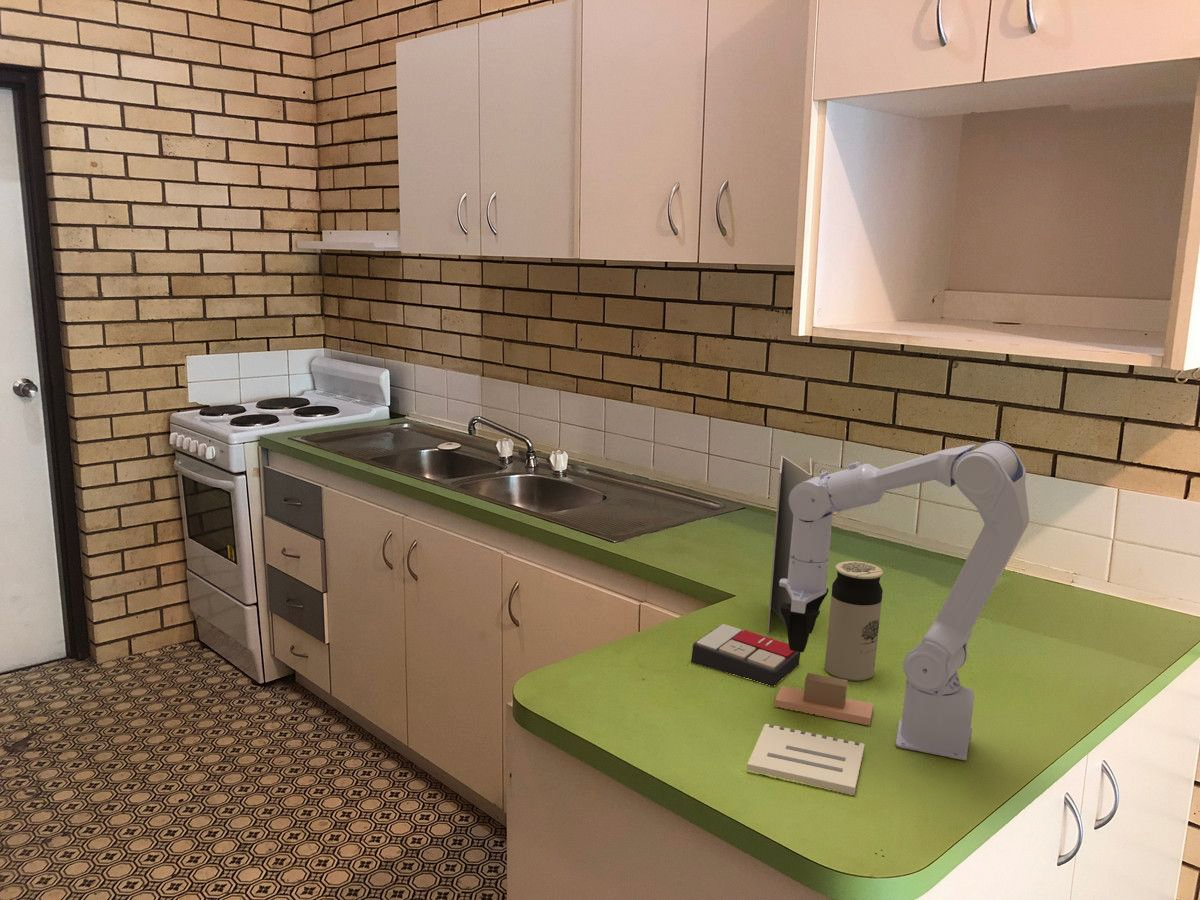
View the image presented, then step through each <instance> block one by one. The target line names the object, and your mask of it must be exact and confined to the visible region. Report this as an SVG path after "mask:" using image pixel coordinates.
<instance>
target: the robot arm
mask: <svg viewBox="0 0 1200 900" xmlns="http://www.w3.org/2000/svg"><path fill="white" fill-rule="evenodd" d="M976 446H977V444H967V445H961V446H957V447H951V448H946V449H942V450H938V451H935V452H933V453H929V454H925V455H922V456H920V457H919V456H918V457H916V458H913V459H909V460H906V461H903V462H900V463H896V464H893V465H890V466H888V467H887V466H886V467H883V468H881V469H880V468H878V467H876V466H874V465H872V464H870V463H863V464H861V461H856V462H852V463H850V464H848V467H847V468H845V469H843V470H838V471H836V472H832V473H829V471H824V472H820V473H819V475H818V476H815V477H812V479H809V480H807V481H804V482H802V483H800V484H798V485H797V486H795V487H794V488H793V489H792V491H791V492H790V495H789V506H790V509H791V511H792V512H793V514H794V517H793V526H792V537H791V548H790V560H789V570H788V579H784V578H782V579H781V580H780V581H779V586H781V587H785V588H786V589H787V591H788V593H789V595H790V597H791V599H792V603H791V604H790V603H784V602H783V603H782V604H781V608H780V610H781V614H782V616H783V618H784V620H785V623H786V625H785V627H786V634H787V640H788V642H787V643H788V644H789V648H790V650H792V651H798V652H801V653H804V652H805V649H806V647H807V644H808V641H809V638H810V637H809V636H810V635H811V634H812V632H813V631H814V627H815V625H816V621H817V618H818V617H819V615H820V613H821V610H820V608H821V606H822V603H824V602H823V601H824V600H825V598H826V597H827V596H828V593H829V588H828V586H827V579H828V578H827V577H828V567H829V557H830V548H831V547H830V546H831V537H832V523H833V516H834V515H833V514H834V512H835V513H841V512H845V511H848V510H853V509H855V508H860V507H865V506H868V505H872V504H876V503H879V502H881V500H882V498H883V496H884V495H885V492H886V491H890V490H895V489H900V488H903V487H908V486H912V485H918V484H923V483H926V482H929V481H937V483H940V484H942V485H944V486H946V487H948V488H952V487H954V486H956V487H957V488H958V490H959V491H960V492H961V494H962V495H964V496H965V498H967V500H968V501H969V502H971V503H972V505H973V506H974V507H975V508H976V509H977V511H978V513H979V515H980V517H981V519H982V521H983V527H982V529H981V531H980V533H979V535H978V537H977V539H976V540H975V543H974V545H973V546H972V548H971V550H970V553H969V554H968V556H967V558H966V559H965V562H964V563H963V565H962V568H961V570H960V572H959V574H958V576H957V577H956V578H955V582H953V585H952V587H951V589H950V591H949V593H948V595H947V597H946V599H945V601H944V602H943V605H942V607H941V609H940V610H939V612H938V614H937V616H936V619H935V620H934V621H933V623H932V624H931V626H930V627H929V629H928V631H927V632H926V633H925V635H924V636H923V638H922V639H921V642H920V643H919V644H918V645H917V646H916V647H915V648H912V649H911V650H910V651H909V652H907V654H906V655H905V657H904V659H903V662H902V663H903V667H902V669H903V673H904V676H905V678H906V681H905V687H904V696H903V698H904V699H903V706H902V715H901V716H902V717H901V719H900V720H899V721H898V726H897V732H896V740H895V746H896V747H898V748H901V749H902V748H903V749H906V750H910V751H916V752H921V753H925V754H931V755H935V756H936V755H937V756H941V757H946V758H951V759H955V760H960V761H967V759H968V750H969V743H970V742H971V741H972V734H973V733H972V732H973V728H972V720H973V710H974V701H975V700H974V698H975V690H974V689H972V688H968V687H965V686H963V685H961V681H960V676H959V674H958V671H959V670H960V669H961V668H962V667H963V666H964V665H965V663H966V661H967V659H968V643H969V640H970V639H971V637H972V630H973V628H975V627H974V626H975V625H976V623H977V621H978V619H979V618H980V615H981V613H982V611H983V609H984V608H985V606H986V604H987V602H988V600H989V599H990V597H991V595H992V593H993V591H994V589H995V588H996V585H997V583H998V582H999V580H1000V578H1001V576H1002V574H1003V572H1004V570H1005V569H1006V566H1008V565H1007V564H1008V563H1009V561H1010V559H1011V557H1012V556H1013V553H1014V552H1015V550H1016V548H1017V546H1018V544H1019V542H1020V540H1021V538H1022V537H1023V535H1024V533H1025V531H1026V529H1027V528H1028V525H1029V521H1030V514H1029V506H1028V505H1029V504H1028V496H1027V488H1026V475H1027V468H1026V467H1025V466H1024V464H1023V461H1022V460H1021V458H1020V457H1019V455H1018V453H1017V452H1016V450H1015V449H1014V448H1013V447H1012V446H1011V445H1009V444H1008V443H1005V442H1003V441H998V440H991V441H990V440H989V441H987V442H986V441H985V442H984V443H982V444H980V445H979V446H978V447H977V448H976V449H974V448H975V447H976Z"/></svg>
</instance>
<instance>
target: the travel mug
mask: <svg viewBox="0 0 1200 900" xmlns="http://www.w3.org/2000/svg"><path fill="white" fill-rule="evenodd" d="M835 570H836V578H835V580H834V581H833V583H832V585H831V593H830V594H831V597H830V605H829V606H830V607H829V617H828V627H827V637H826V650H825V661H824V669H825V670H826V671H827V672H828V673H829V674H831V675H832V676H834V677H835V678H839V679H844V680H848V681H854V682H855V681H856V682H857V681H858V682H859V681H863V680H868V679H871V678H872V677H873V676H874V675H875V667H876V658H877V649H878V641H879V640H878V639H879V632H880V631H879V630H880V621H881V620H880V619H881V611H882V600H883V591H884V590H883V588H882V586H881V583H880V581H881V577H882V576H883V575H884V571H883V569H881V567H879V566H877V565H875V564H872V563H868V562H864V561H863V562H862V561H852V560H851V561H848V560H847V561H842V562H841V561H840V562H839V563H837V564H836V565H835Z"/></svg>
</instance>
